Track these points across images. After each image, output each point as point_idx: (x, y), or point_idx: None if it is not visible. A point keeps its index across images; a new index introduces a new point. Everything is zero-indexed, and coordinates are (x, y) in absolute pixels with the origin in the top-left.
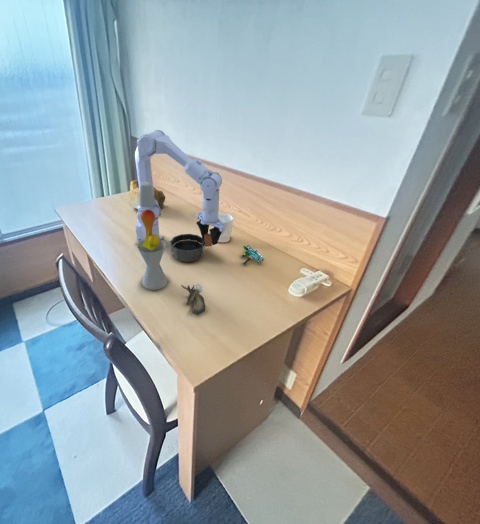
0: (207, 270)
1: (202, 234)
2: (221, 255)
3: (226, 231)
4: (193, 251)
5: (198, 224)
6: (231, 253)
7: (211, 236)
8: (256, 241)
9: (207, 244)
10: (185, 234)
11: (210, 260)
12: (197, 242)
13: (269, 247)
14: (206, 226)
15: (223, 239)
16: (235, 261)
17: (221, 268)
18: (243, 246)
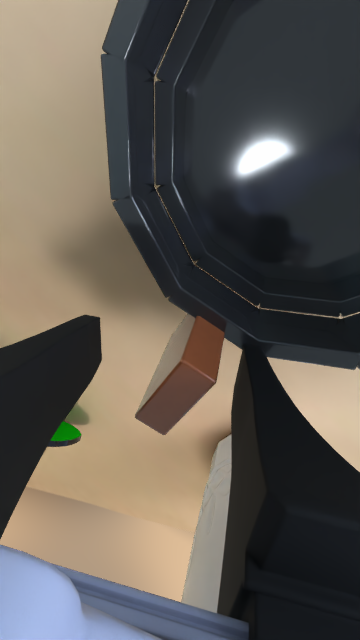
0: (33, 109)
1: (248, 373)
2: (128, 328)
3: (200, 518)
4: (115, 26)
5: (319, 499)
6: (111, 377)
7: (23, 359)
8: (122, 505)
9: (187, 319)
10: None
11: (125, 233)
12: (316, 305)
13: (57, 490)
14: (234, 508)
15: (222, 454)
16: (37, 329)
17: (12, 214)
18: (50, 440)
